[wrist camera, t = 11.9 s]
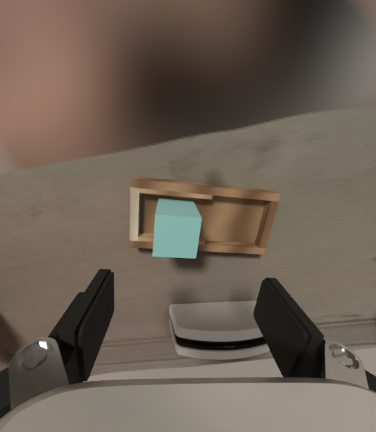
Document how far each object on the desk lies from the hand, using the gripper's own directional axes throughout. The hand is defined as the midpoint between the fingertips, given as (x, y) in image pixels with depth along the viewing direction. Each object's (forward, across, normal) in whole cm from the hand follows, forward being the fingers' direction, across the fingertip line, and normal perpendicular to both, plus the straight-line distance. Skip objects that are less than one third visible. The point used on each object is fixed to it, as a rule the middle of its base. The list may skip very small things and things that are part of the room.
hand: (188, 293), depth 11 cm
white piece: (+16, -8, +17) cm, 25 cm away
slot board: (+15, -3, 0) cm, 16 cm away
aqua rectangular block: (+14, +1, 0) cm, 14 cm away
